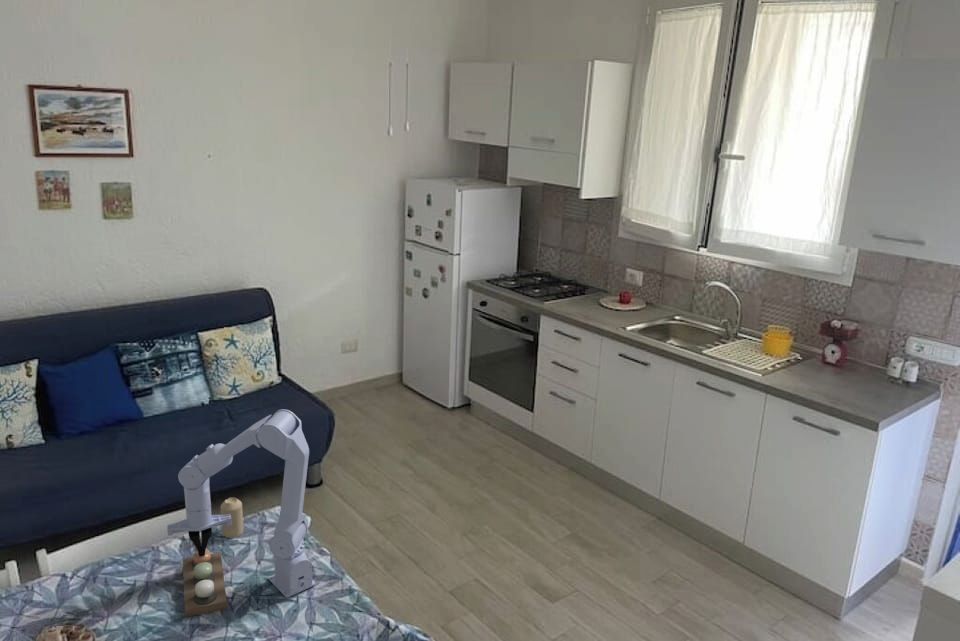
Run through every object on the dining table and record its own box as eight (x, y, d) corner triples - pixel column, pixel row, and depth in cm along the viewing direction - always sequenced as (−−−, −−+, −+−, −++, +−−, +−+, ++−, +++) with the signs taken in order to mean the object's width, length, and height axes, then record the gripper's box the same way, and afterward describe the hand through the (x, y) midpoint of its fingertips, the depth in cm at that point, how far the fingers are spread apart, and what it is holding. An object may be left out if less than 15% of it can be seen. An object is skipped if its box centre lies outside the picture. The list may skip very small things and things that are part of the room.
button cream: (214, 595, 165) (214, 588, 165) (196, 599, 164) (195, 592, 163) (213, 584, 169) (213, 578, 168) (195, 588, 167) (194, 581, 167)
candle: (239, 538, 193) (237, 506, 190) (219, 537, 193) (217, 505, 190) (246, 527, 198) (244, 495, 195) (226, 526, 198) (224, 494, 195)
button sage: (212, 576, 172) (212, 570, 171) (194, 580, 170) (194, 574, 169) (211, 567, 175) (211, 560, 175) (194, 570, 174) (193, 564, 173)
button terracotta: (211, 563, 178) (210, 557, 177) (194, 566, 176) (193, 560, 176) (210, 554, 181) (209, 548, 181) (193, 557, 180) (192, 551, 179)
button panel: (227, 608, 167) (226, 600, 166) (185, 617, 163) (184, 609, 162) (221, 558, 184) (220, 551, 183) (183, 565, 181) (182, 557, 180)
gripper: (228, 492, 181) (231, 539, 185) (165, 502, 175) (170, 550, 179) (230, 507, 175) (233, 554, 179) (165, 517, 169) (170, 566, 173)
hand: (201, 553), depth 178 cm, fingers closed
